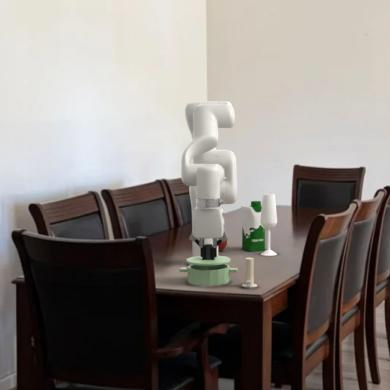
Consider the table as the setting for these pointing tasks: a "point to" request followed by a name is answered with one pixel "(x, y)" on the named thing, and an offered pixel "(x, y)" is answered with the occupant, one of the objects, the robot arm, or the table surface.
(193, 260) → the lid
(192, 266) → the pot
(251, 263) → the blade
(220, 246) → the onion
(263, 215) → the champagne flute
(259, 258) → the table surface
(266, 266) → the table surface
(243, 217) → the milk carton
